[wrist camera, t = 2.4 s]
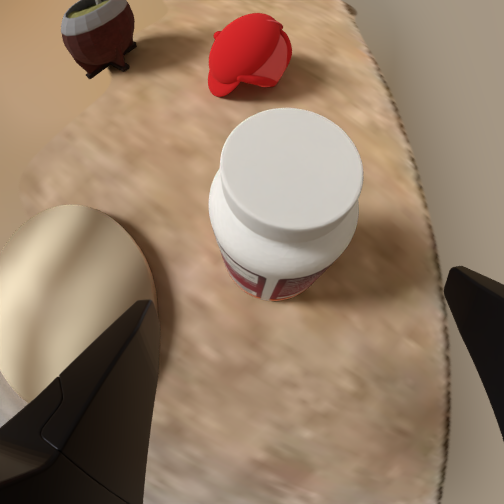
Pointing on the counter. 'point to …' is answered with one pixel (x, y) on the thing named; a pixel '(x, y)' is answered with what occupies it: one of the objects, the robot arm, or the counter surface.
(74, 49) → the mate gourd
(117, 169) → the counter surface
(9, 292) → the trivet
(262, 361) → the counter surface
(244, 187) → the pill bottle
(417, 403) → the counter surface
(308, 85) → the counter surface
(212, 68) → the cap
